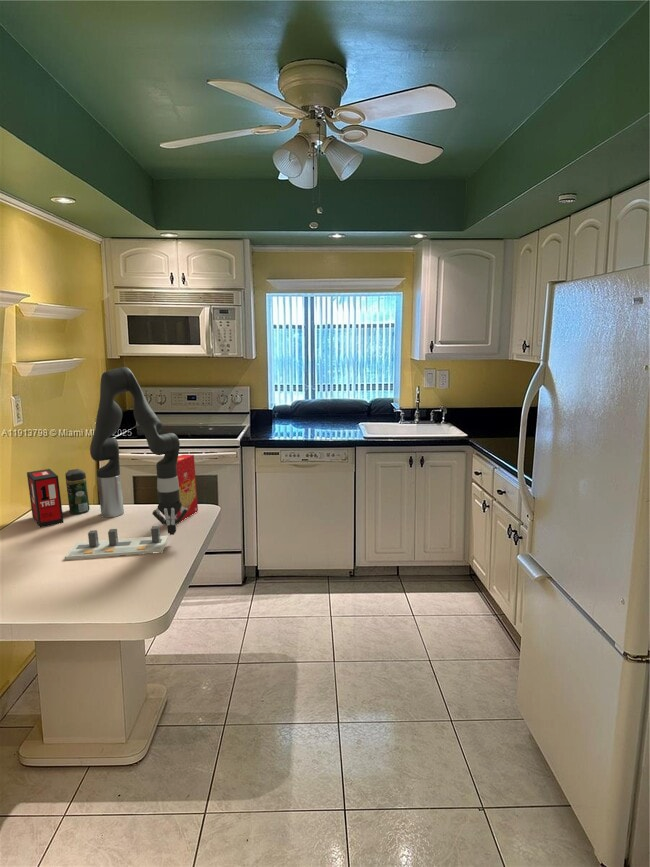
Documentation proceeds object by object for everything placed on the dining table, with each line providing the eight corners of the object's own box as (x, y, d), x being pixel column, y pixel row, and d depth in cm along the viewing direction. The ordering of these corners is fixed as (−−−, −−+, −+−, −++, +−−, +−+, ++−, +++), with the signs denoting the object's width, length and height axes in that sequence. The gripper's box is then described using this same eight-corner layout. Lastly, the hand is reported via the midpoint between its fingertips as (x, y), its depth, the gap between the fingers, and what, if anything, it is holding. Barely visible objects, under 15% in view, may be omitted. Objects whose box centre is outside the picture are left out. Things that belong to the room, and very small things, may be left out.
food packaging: (179, 523, 231) (174, 463, 226) (167, 522, 233) (162, 462, 228) (198, 511, 245) (193, 455, 240) (187, 510, 246) (183, 454, 242)
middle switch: (111, 542, 208) (110, 529, 207) (118, 541, 208) (116, 528, 207) (109, 545, 205) (107, 532, 204) (116, 544, 205) (114, 531, 204)
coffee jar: (67, 510, 253) (62, 469, 249) (86, 506, 257) (82, 466, 254) (72, 515, 245) (67, 473, 241) (91, 511, 249) (87, 470, 246)
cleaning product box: (63, 522, 236) (57, 476, 232) (40, 527, 231) (34, 479, 227) (55, 513, 249) (49, 468, 245) (32, 517, 244) (26, 472, 240)
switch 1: (91, 543, 207) (90, 530, 206) (98, 543, 207) (97, 530, 206) (89, 546, 204) (87, 533, 203) (96, 546, 204) (94, 533, 203)
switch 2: (153, 539, 209) (152, 526, 208) (160, 538, 210) (159, 525, 209) (152, 542, 206) (151, 529, 205) (158, 541, 207) (157, 528, 206)
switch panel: (77, 545, 210) (76, 540, 210) (168, 538, 214) (168, 534, 214) (65, 560, 197) (64, 555, 196) (162, 552, 200) (162, 548, 200)
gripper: (188, 484, 210) (191, 529, 213) (151, 486, 208) (155, 531, 211) (185, 490, 202) (189, 536, 205) (147, 492, 201) (151, 539, 204)
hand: (172, 534), depth 208 cm, fingers closed
